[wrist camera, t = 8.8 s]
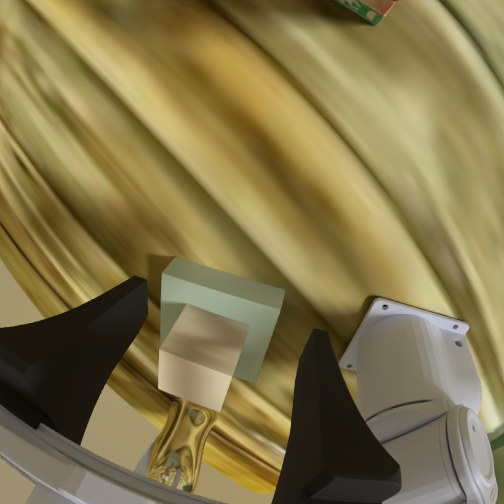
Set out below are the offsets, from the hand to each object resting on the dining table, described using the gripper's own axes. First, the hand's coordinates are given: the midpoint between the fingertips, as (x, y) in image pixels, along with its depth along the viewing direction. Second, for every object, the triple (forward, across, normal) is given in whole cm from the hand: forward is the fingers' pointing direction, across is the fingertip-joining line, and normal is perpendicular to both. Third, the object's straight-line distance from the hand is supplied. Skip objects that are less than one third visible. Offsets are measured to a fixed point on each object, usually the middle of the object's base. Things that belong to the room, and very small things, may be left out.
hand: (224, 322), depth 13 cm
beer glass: (+10, +3, +27) cm, 29 cm away
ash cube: (+8, +2, +10) cm, 13 cm away
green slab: (+11, +2, +10) cm, 15 cm away
